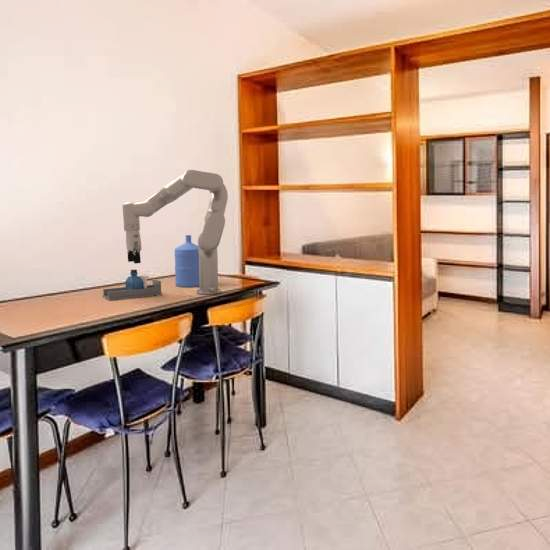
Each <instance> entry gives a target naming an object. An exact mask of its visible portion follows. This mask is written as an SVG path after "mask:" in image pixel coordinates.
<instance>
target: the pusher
mask: <svg viewBox="0 0 550 550" xmlns="http://www.w3.org/2000/svg"><path fill="white" fill-rule="evenodd" d="M139 277H141V279H142V280H143V287H144V288H147V285H148V281H147V279H149V278H150V276H148V275H146V274H139Z"/></svg>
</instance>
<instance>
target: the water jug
mask: <svg viewBox="0 0 550 550" xmlns="http://www.w3.org/2000/svg"><path fill="white" fill-rule="evenodd" d="M174 272H175V286H176V287H178V286H181V287H180V288H196V287H195V286H198V287H200V286H199V250H198V244H195V243H193V242H192V235H189V234H187V235H185V243H183V244H180V245H179V246H177V247H175V248H174Z"/></svg>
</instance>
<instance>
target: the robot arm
mask: <svg viewBox="0 0 550 550" xmlns="http://www.w3.org/2000/svg"><path fill="white" fill-rule="evenodd" d="M192 189H199V190H205V191H209V193H210V199H209V203H208V207H207V211H206V214H205V216H204V225H203V229H202V232H201V233H200V234H199V235H198V239H197V246H198V250H199V286H198V287H199V289H197V290H196V294H198V293H199V295H214V294H213V293H218V294H220V293H219V292H221V293H222V289H220V288H219V268H218V267H219V263H218V262H219V259H218V258H219V257H218V255H219V254H218V247H219V245H220V242H221V239H222V236H223V233H224V229H225V225H226V218H225V213H226V207H227V204H228V196H229V195H228V190H227V187H226V185H225V183H224V179H223V177H222V176H221V175H220V174H218V173H214V172H207V171H202V170H195V169H187V170H186V171H185V172H183V173H181V175H179V176H177V177H176V178H174V179H173V180H171V181H170V182H168V183H167V184H166V185H164V186H163V187H161V189H160V190H158V191H157V192H156V193H154V194H153V195H152V196H150V197H149V198H148V199H146V200H145V201H142V202H135V201H134V202H132V201H130V202H124V203H122V217H123V218H122V219H123V231H124V232H125V243H126V244H125V245H126V250H127V262H128V263H130V262H132V263H133V264H141V262H142V261H141V251H142V249H143V248H142V241H141V239H142V238H141V234H140V233H141V232H140V231H141V225H140V224H141V223H140V217H144V218H149V217H151V216H153V215H154V214H155V213H157V212H158V211H160V210H161V209H163V208H164V207H165V206H167V205H169V204H171V203H173V202H175V201H177V200H178V199H179V198H180V197H182V196H183V195H185V194H187V193H188V192H190V191H191V190H192Z"/></svg>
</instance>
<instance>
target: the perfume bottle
mask: <svg viewBox="0 0 550 550" xmlns="http://www.w3.org/2000/svg"><path fill="white" fill-rule="evenodd" d="M124 282H125V283H124V285H125V287H126V290H132V289H143V288H144V287H143V280H142V279H141V277H140V275H138V269H130V276H127V278H126V280H125V281H124Z"/></svg>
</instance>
